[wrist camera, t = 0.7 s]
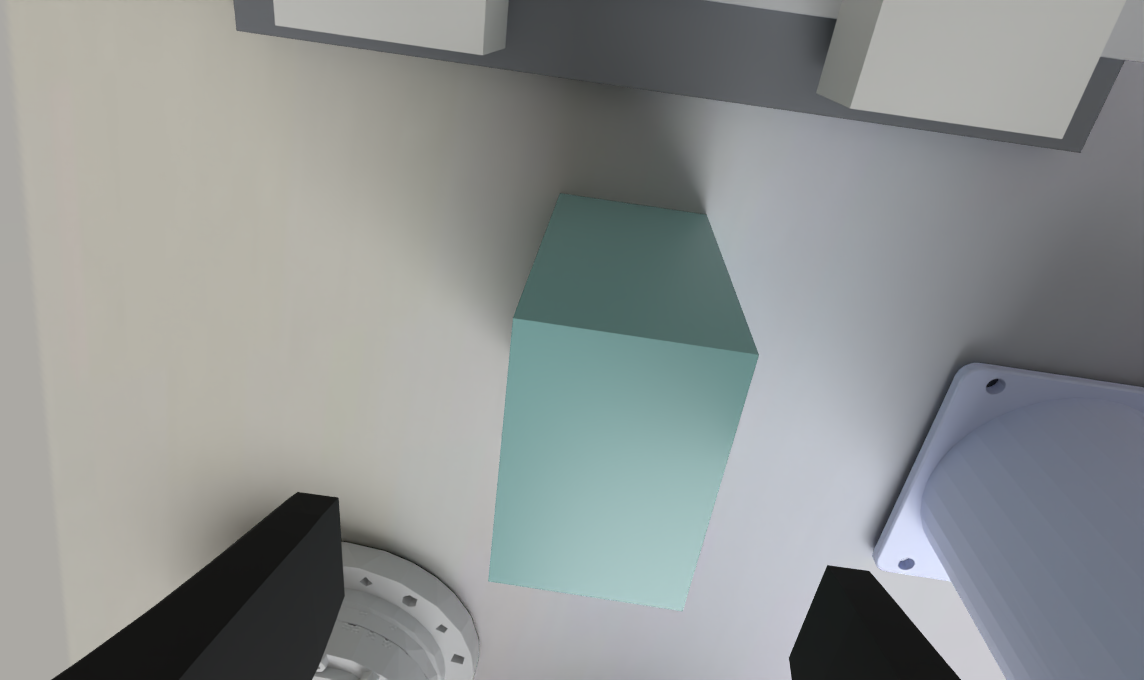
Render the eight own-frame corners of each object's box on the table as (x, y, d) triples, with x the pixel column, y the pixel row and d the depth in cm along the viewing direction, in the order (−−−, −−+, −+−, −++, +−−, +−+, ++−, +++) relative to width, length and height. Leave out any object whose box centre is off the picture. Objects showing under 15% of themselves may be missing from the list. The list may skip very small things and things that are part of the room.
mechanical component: (460, 534, 24) (206, 535, 25) (427, 637, 20) (128, 633, 21) (495, 707, 28) (279, 702, 29) (474, 819, 24) (225, 809, 25)
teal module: (706, 214, 18) (758, 354, 10) (664, 400, 20) (682, 611, 13) (560, 193, 18) (513, 317, 10) (537, 381, 20) (488, 581, 13)
